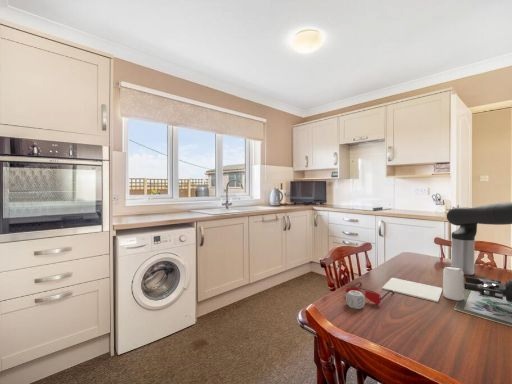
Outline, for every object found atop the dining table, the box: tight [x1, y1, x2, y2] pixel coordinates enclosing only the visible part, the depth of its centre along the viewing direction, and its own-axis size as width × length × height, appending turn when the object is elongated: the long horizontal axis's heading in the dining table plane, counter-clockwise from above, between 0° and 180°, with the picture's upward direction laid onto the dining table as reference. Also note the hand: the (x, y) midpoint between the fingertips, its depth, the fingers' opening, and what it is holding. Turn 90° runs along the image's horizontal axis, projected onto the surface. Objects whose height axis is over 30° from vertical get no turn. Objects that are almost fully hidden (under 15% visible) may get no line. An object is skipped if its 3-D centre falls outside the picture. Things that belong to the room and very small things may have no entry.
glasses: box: [345, 281, 395, 306], centre depth 106 cm, size 14×16×5 cm
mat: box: [381, 277, 443, 303], centre depth 111 cm, size 16×20×1 cm
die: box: [345, 290, 366, 310], centre depth 96 cm, size 5×5×5 cm
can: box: [442, 265, 465, 302], centre depth 102 cm, size 6×6×12 cm
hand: (464, 282), depth 100 cm, fingers open, 8 cm apart
